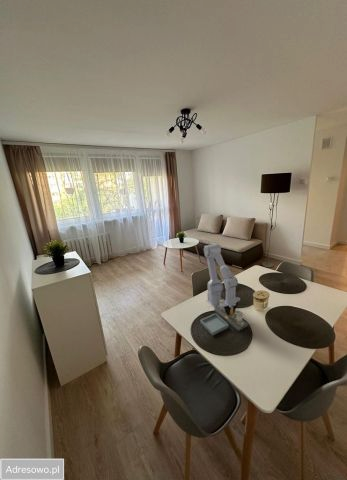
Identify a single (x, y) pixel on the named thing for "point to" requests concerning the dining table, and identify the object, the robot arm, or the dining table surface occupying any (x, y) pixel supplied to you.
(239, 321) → the fuse
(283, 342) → the dining table surface
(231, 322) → the fuse block
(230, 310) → the marked fuse
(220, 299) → the fuse
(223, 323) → the tray
